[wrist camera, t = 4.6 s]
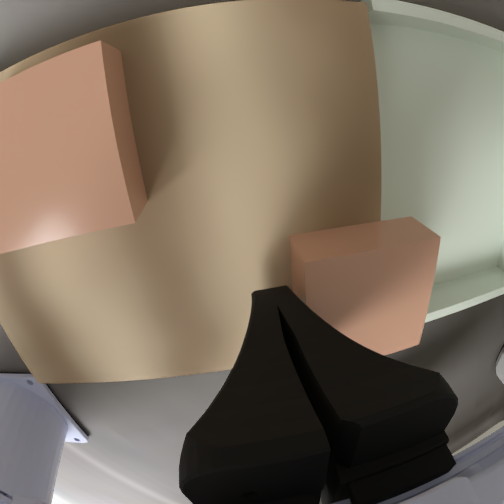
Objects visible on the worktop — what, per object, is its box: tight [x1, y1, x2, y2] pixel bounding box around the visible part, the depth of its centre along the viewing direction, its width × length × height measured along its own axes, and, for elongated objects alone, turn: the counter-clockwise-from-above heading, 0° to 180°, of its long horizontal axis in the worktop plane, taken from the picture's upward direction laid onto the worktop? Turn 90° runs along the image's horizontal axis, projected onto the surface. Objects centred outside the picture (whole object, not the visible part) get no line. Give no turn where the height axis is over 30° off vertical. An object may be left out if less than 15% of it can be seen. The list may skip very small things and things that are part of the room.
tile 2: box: [0, 40, 148, 254], centre depth 8 cm, size 5×5×2 cm
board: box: [0, 0, 381, 383], centre depth 12 cm, size 17×14×3 cm
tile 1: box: [289, 216, 441, 356], centre depth 12 cm, size 5×5×2 cm
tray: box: [360, 0, 504, 323], centre depth 13 cm, size 12×15×2 cm
